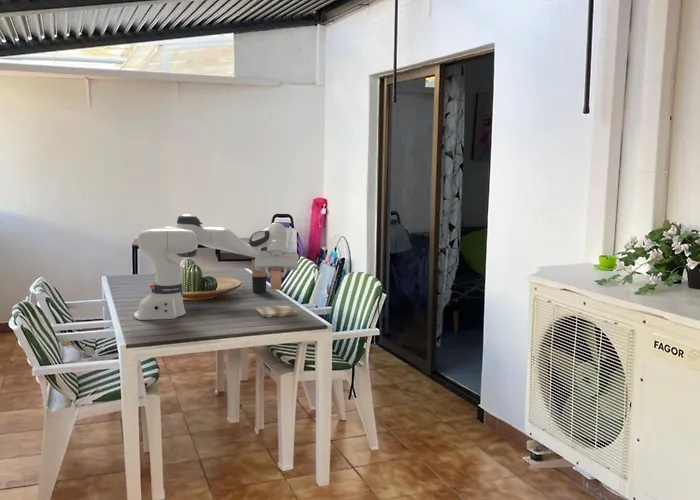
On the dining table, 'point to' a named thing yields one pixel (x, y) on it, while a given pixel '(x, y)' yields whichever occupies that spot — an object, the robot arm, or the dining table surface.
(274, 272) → the terracotta jar
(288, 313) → the birch board
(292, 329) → the dining table surface
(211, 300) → the dining table surface
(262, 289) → the travel mug
